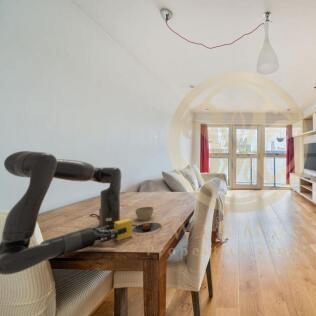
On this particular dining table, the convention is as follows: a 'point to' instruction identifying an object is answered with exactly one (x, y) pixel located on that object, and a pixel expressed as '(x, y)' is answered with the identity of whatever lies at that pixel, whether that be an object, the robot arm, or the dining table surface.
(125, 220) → the sponge
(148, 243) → the dining table surface
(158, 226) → the pan
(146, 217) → the beige bowl
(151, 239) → the dining table surface
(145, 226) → the brown small block
